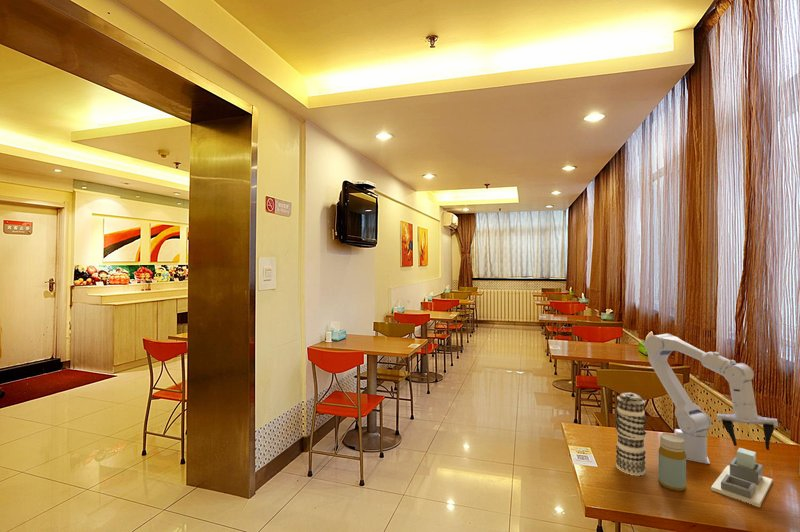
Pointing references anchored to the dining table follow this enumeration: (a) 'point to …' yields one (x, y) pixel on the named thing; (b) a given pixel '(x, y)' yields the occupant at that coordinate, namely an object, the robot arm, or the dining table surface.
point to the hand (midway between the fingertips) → (751, 447)
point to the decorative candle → (630, 434)
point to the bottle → (672, 462)
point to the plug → (746, 458)
